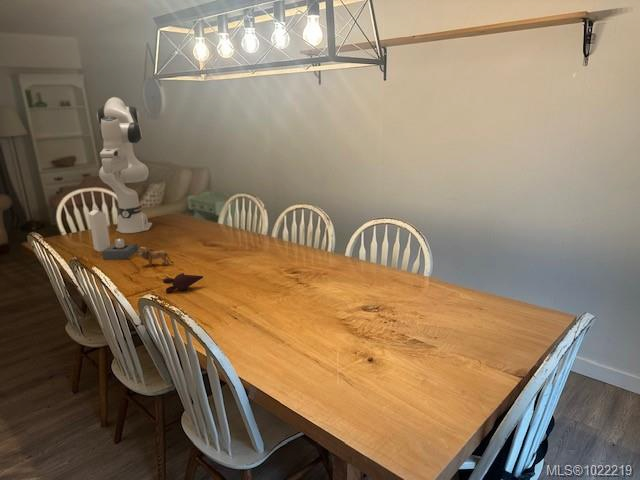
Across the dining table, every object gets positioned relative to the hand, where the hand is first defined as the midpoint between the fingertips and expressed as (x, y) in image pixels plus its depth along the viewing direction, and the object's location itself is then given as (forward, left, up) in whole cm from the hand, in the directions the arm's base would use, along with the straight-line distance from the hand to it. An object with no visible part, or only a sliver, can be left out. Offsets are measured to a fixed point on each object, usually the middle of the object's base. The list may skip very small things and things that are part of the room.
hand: (118, 180), depth 224 cm
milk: (+3, -12, -35) cm, 37 cm away
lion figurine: (+28, +25, -35) cm, 51 cm away
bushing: (+13, +2, -35) cm, 37 cm away
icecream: (+57, +46, -35) cm, 82 cm away
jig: (+13, +2, -35) cm, 37 cm away
